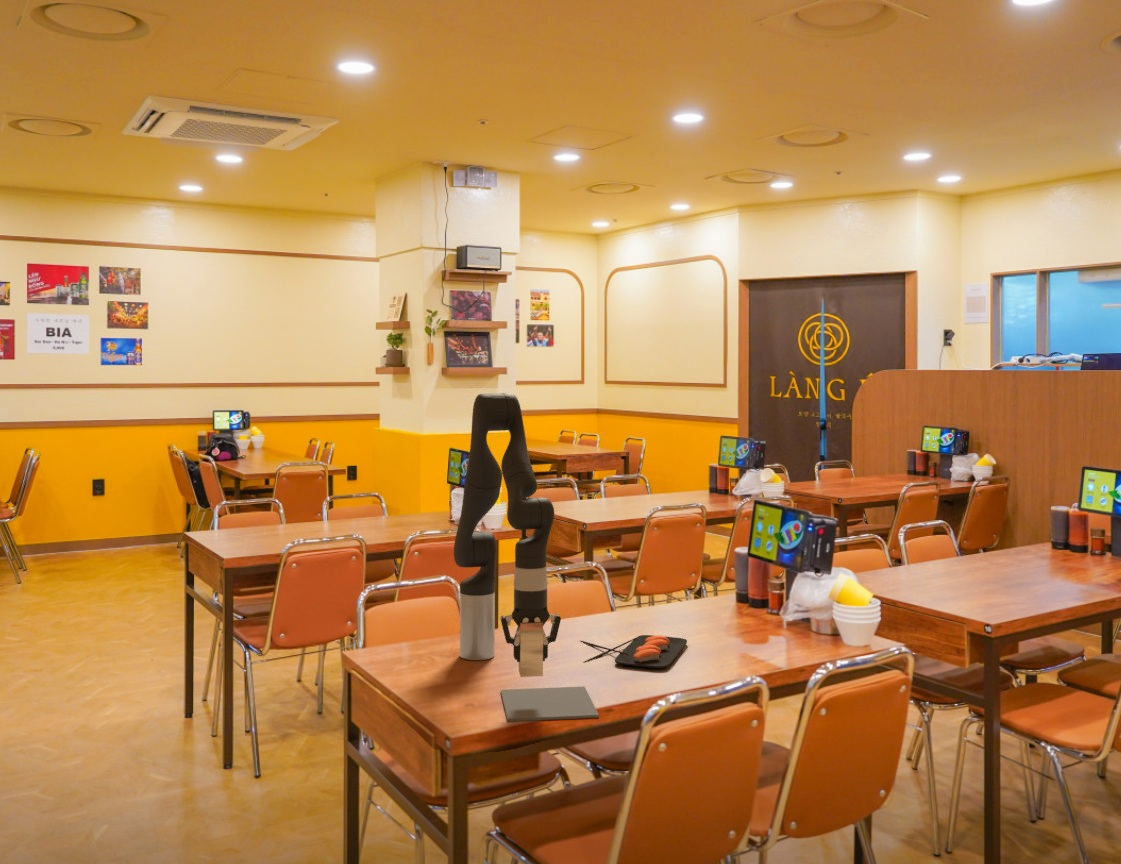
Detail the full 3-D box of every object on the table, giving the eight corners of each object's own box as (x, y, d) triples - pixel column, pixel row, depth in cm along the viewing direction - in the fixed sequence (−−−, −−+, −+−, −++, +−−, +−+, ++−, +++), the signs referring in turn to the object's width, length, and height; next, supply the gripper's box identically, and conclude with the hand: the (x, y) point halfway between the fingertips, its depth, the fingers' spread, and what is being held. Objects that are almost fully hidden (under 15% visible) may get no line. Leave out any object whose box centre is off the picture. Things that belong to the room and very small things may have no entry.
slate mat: (500, 692, 231) (500, 689, 231) (584, 688, 233) (584, 686, 233) (507, 721, 211) (507, 718, 211) (598, 717, 213) (598, 714, 213)
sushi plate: (666, 674, 247) (666, 659, 246) (554, 663, 256) (554, 648, 256) (689, 645, 274) (689, 631, 274) (587, 635, 284) (587, 622, 284)
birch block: (518, 670, 223) (518, 618, 223) (540, 669, 224) (540, 617, 223) (520, 676, 218) (520, 623, 218) (542, 676, 219) (543, 623, 218)
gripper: (559, 582, 225) (559, 655, 226) (497, 583, 223) (497, 657, 224) (564, 588, 217) (564, 664, 218) (500, 590, 215) (500, 666, 216)
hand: (530, 660), depth 221 cm, fingers closed on birch block, 5 cm apart
